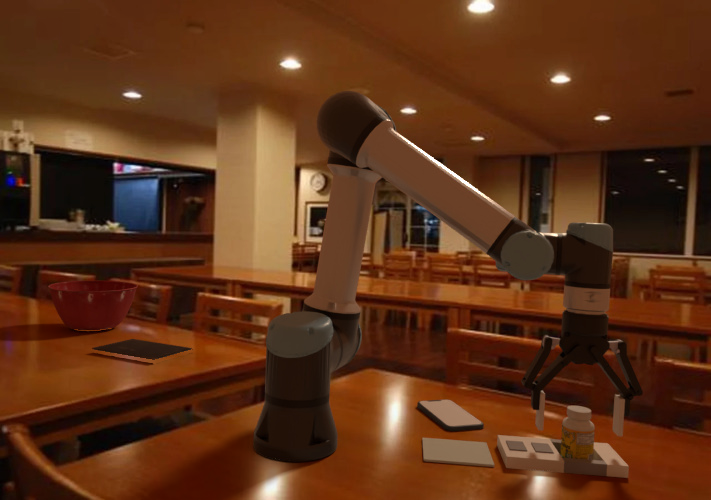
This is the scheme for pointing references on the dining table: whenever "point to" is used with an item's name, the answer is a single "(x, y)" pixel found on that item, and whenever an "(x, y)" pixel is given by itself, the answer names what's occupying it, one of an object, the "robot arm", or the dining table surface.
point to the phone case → (449, 415)
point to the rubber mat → (456, 452)
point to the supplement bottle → (577, 434)
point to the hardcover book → (142, 349)
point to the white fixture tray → (558, 457)
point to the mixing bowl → (92, 303)
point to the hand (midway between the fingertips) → (578, 430)
